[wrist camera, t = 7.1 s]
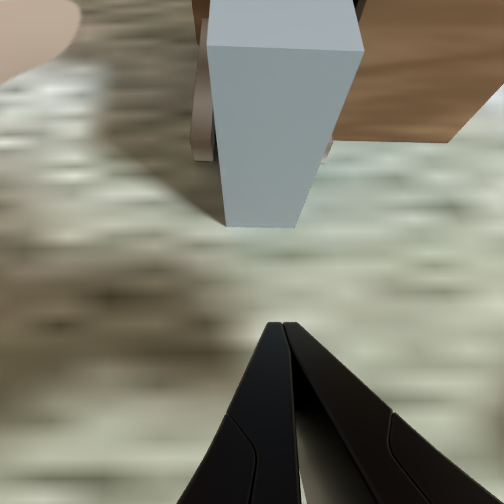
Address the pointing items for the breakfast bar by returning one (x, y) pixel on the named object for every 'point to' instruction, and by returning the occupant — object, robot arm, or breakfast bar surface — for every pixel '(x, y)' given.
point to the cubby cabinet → (396, 72)
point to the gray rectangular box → (277, 99)
